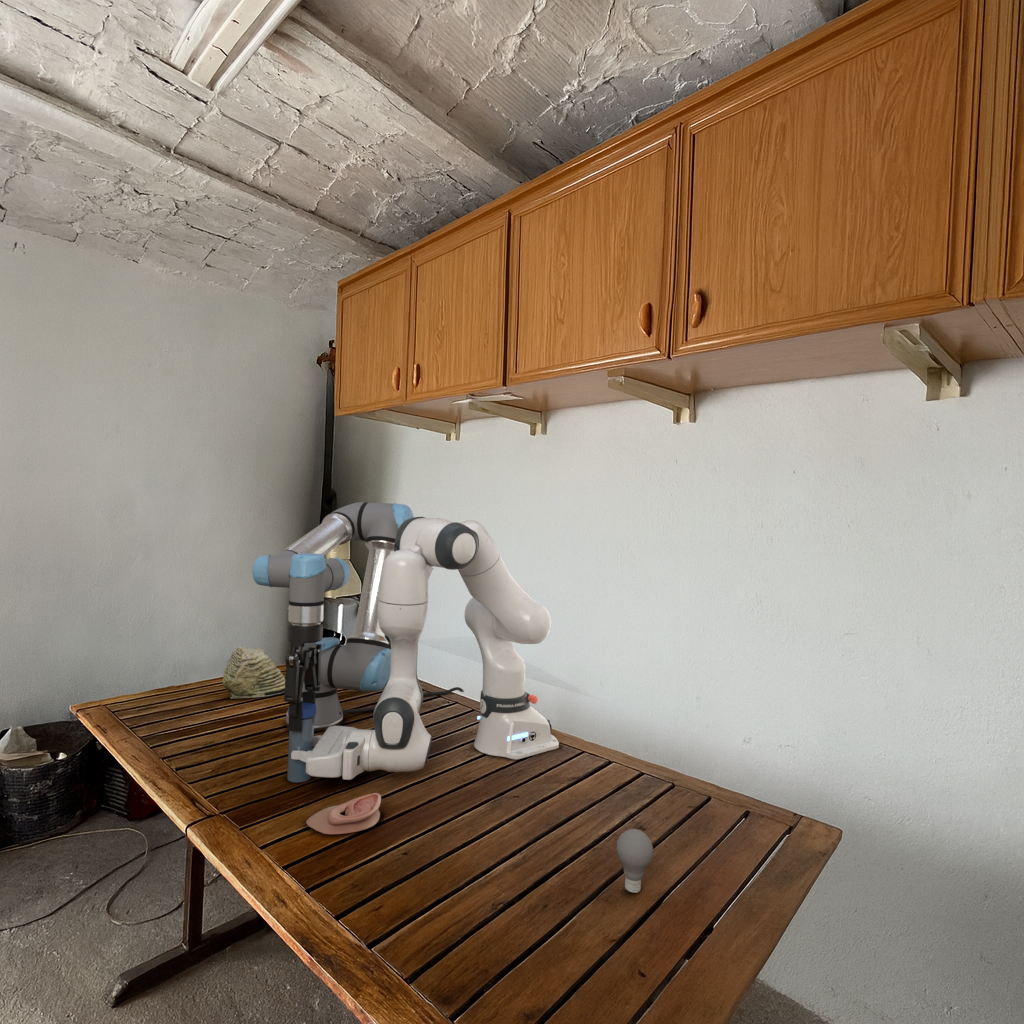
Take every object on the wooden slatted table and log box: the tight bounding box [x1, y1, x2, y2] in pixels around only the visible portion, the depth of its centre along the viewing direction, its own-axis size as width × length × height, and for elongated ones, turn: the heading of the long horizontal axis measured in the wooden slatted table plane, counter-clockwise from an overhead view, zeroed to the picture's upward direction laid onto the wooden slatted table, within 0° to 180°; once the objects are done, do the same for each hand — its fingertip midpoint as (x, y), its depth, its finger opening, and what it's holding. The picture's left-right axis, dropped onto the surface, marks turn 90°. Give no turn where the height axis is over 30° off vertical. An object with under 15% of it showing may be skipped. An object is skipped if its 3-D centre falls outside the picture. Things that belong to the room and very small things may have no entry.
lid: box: [287, 702, 316, 719], centre depth 142 cm, size 6×6×2 cm
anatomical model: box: [305, 792, 382, 835], centre depth 124 cm, size 13×4×12 cm
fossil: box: [222, 646, 286, 699], centre depth 198 cm, size 9×18×15 cm, turn 132°
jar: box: [286, 716, 315, 784], centre depth 142 cm, size 5×5×15 cm
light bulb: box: [615, 828, 654, 894], centre depth 106 cm, size 6×6×10 cm
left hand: (301, 725), depth 142 cm, fingers closed on lid, 6 cm apart
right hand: (296, 748), depth 142 cm, fingers closed on jar, 5 cm apart
